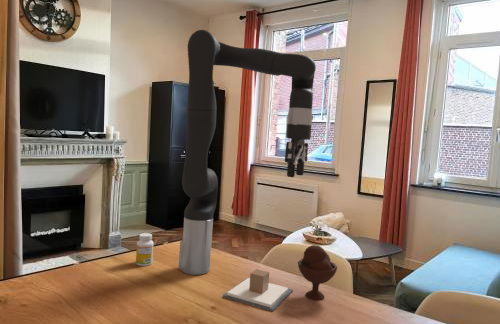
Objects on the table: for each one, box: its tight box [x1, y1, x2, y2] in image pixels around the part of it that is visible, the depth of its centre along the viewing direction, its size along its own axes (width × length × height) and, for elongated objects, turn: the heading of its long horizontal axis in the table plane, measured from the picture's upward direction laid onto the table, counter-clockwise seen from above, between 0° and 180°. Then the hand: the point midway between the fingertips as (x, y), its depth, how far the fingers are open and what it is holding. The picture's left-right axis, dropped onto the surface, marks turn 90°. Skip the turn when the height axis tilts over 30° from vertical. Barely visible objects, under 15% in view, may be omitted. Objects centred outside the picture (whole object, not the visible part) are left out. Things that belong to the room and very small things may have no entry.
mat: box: [222, 277, 294, 312], centre depth 105 cm, size 15×15×1 cm
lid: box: [226, 268, 289, 308], centre depth 104 cm, size 13×13×6 cm
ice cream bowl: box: [297, 244, 338, 302], centre depth 106 cm, size 11×11×15 cm
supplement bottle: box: [135, 232, 155, 267], centre depth 123 cm, size 5×5×10 cm
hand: (295, 176), depth 115 cm, fingers open, 8 cm apart
